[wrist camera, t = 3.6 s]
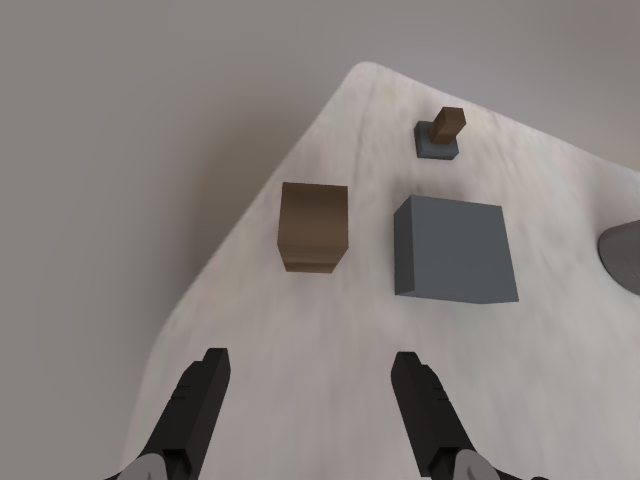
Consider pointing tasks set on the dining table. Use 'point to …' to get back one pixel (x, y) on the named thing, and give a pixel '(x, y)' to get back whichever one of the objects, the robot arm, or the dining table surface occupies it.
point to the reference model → (440, 134)
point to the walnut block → (313, 227)
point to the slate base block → (452, 252)
